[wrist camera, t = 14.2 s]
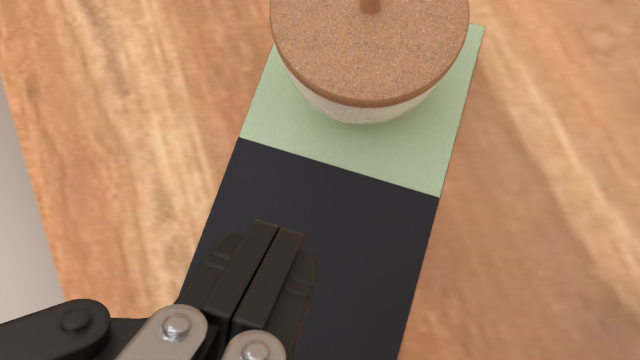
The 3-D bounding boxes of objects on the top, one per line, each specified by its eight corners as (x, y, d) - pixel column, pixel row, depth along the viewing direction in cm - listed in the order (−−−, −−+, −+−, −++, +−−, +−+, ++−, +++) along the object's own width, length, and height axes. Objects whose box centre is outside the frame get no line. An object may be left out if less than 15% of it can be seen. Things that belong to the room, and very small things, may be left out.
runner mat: (384, 402, 27) (384, 403, 27) (167, 327, 28) (166, 327, 28) (483, 28, 33) (484, 26, 32) (298, -22, 34) (298, -23, 34)
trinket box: (435, 152, 30) (480, 94, 21) (275, 141, 31) (252, 79, 22) (438, 10, 33) (480, -97, 24) (290, 1, 33) (276, -107, 24)
